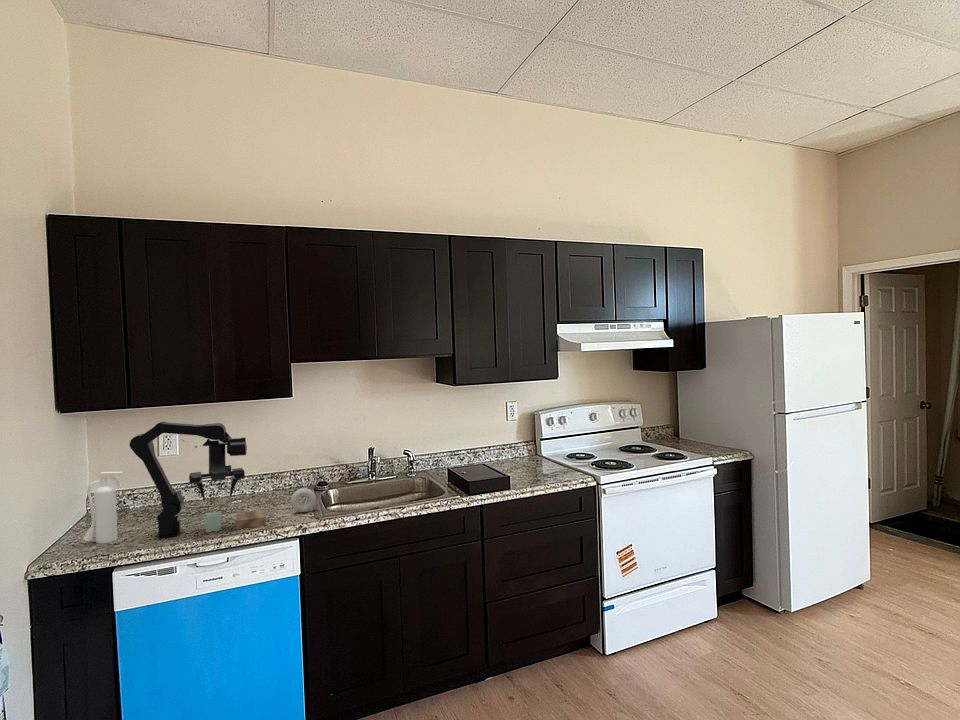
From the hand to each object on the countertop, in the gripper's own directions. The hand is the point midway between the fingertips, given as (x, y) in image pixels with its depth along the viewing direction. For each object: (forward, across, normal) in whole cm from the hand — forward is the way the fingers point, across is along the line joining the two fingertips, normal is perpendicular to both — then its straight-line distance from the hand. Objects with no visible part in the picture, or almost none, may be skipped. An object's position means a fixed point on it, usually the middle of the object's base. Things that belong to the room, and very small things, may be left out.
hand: (217, 497), depth 204 cm
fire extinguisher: (+13, -36, +10) cm, 40 cm away
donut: (+11, +32, +2) cm, 34 cm away
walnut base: (+12, +12, -2) cm, 17 cm away
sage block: (+12, -1, 0) cm, 12 cm away
